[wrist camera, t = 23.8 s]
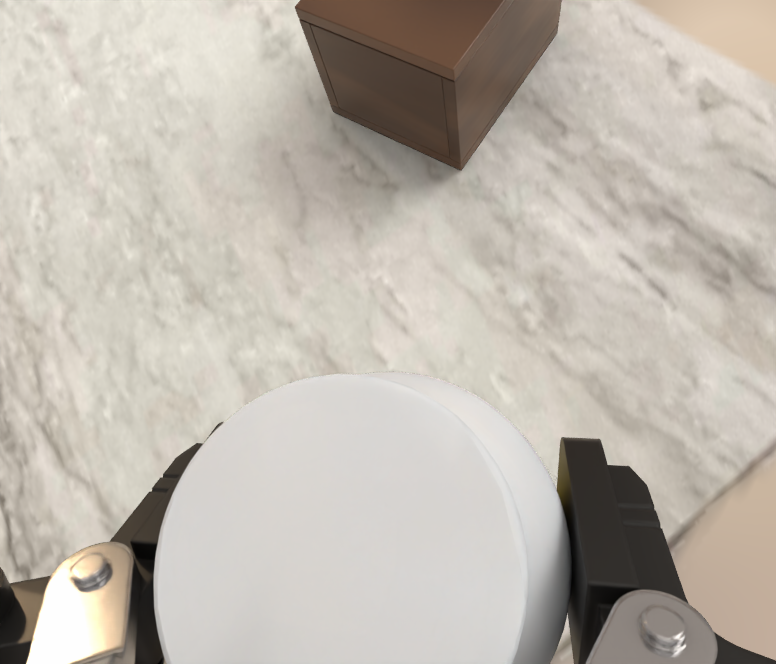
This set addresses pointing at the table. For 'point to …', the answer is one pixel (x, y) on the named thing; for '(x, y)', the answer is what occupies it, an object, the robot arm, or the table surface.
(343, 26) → the lid
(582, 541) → the robot arm
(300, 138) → the table surface
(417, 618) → the pill bottle
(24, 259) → the table surface
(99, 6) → the table surface
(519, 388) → the table surface
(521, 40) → the box
